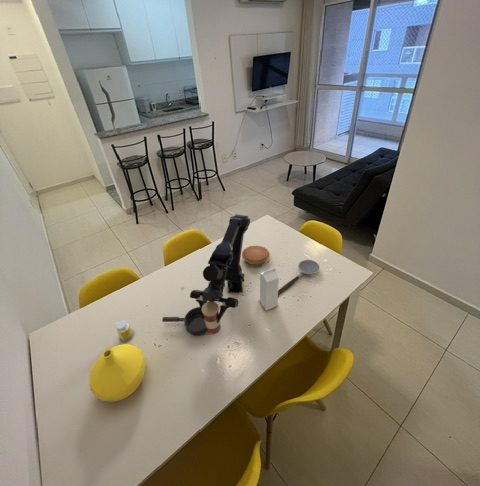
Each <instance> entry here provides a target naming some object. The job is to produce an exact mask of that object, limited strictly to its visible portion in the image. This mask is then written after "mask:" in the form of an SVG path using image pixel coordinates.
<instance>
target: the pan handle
mask: <svg viewBox="0 0 480 486" xmlns="http://www.w3.org/2000/svg"><path fill="white" fill-rule="evenodd" d="M184 318H185V317H180V316H163V317H162V323H173V322H174V323H179V322H184Z"/></svg>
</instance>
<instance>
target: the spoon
mask: <svg viewBox="0 0 480 486" xmlns="http://www.w3.org/2000/svg"><path fill="white" fill-rule="evenodd" d="M297 268H298V270H299V274H298V275H297V276H295V277H294V278H293V279H291V280H290V281H288V282H287V283H285V284H284V285H283V286H282V287H280V289H278V296H279V295H281V293H284V292H285V291H286V290H287V289H289V288H290V287H291V286H292V285H293V284H294V283H295V282H296V281H297V280H299V279H300V278H301V277H303V276H304V275H315V274H316V273H318V272H319V270H320V264H319V263H318V262H317V261H315V260H312V259H304V260H301V261H300V262H299V263H298V264H297Z"/></svg>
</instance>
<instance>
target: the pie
mask: <svg viewBox="0 0 480 486" xmlns="http://www.w3.org/2000/svg"><path fill="white" fill-rule="evenodd" d="M241 257H242V259H243V260H244V261H245V262H246V263H247V264H248V265H250V266H254V267H255V266H256V267H257V266H261V265H263V264H264V263H266V262H267V261H268V260H269V258H270V251H269V250H268V249H267V248H266V247H264V246H261V245H250V246H247V247H246V248H244V249H243V250H242V251H241Z"/></svg>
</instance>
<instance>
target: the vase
mask: <svg viewBox="0 0 480 486" xmlns="http://www.w3.org/2000/svg"><path fill="white" fill-rule="evenodd" d="M146 365H147V363H146V358H145V356H144V353H143V351H142V350H141V349H140V348H139V347H138V346H135V345H132V344H128V343H123V344H117V345H115V346H112V347H111V348H108V349H105V350H104V351H103V353H102V354H101V355H100V356H99V357H98V358H97V359H96V361H95V362H94V364H93V365H92V367H91V370H90V373H89V388H90V391H91V392H92V394H93V395H94V396H95V397H96V398H97V399H98V400H101V401H103V402H117V401H122V400H124V399H126V398H127V397H129V396H130V395H131V394H133V393H134V392H135V391H136V390H137V389H138V388H139V386H140V385H141V383H142V382H143V378H144V376H145V374H146V373H145V372H146Z"/></svg>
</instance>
